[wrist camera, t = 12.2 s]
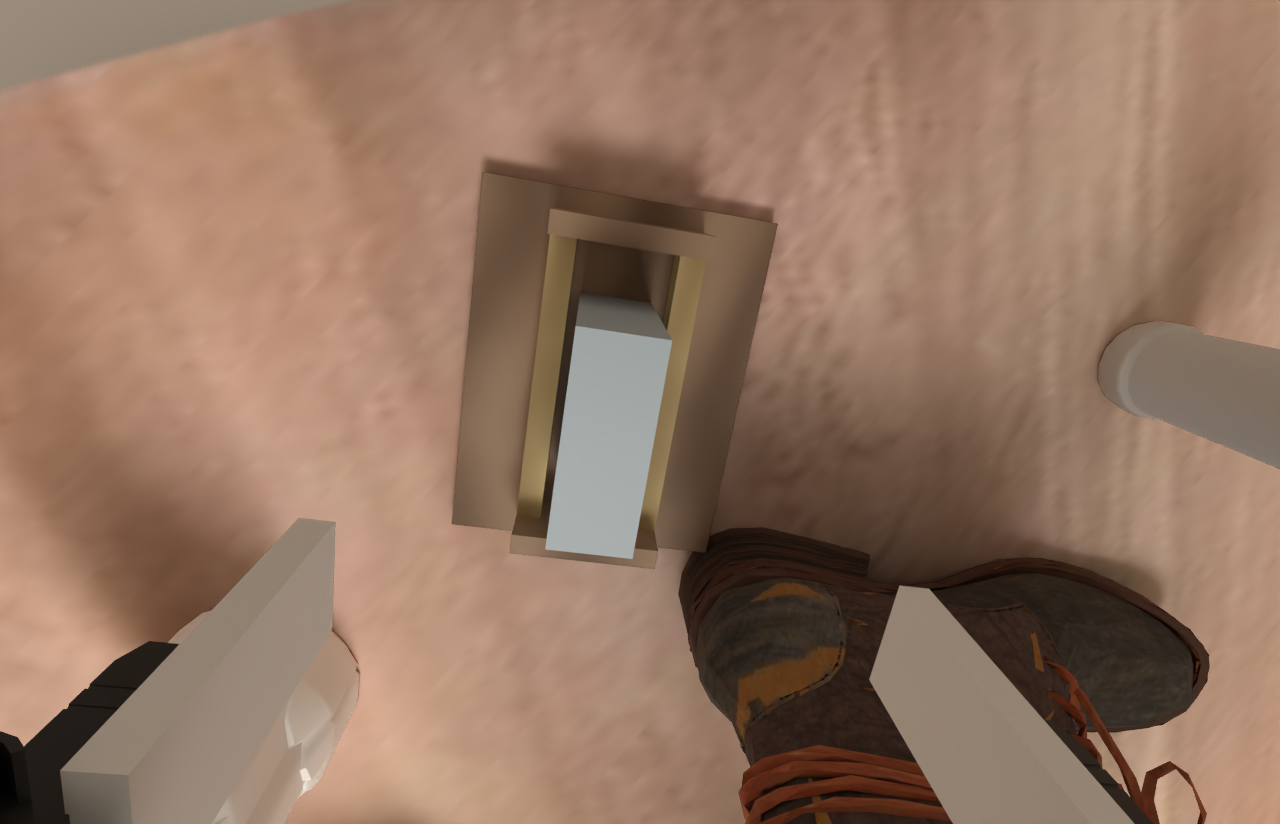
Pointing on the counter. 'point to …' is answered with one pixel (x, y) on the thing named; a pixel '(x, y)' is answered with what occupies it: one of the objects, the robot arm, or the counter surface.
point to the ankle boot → (848, 646)
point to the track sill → (543, 341)
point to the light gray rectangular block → (608, 426)
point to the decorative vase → (294, 737)
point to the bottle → (1198, 385)
